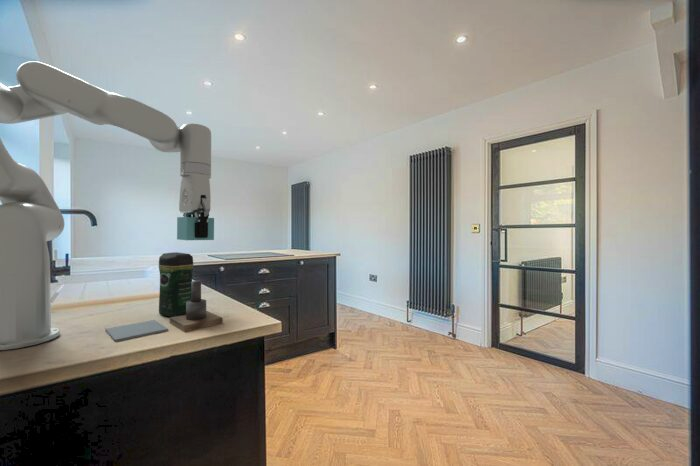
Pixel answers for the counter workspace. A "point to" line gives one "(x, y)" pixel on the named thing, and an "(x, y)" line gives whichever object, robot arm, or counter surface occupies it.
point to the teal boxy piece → (192, 229)
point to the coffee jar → (175, 283)
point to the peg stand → (195, 312)
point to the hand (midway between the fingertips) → (195, 236)
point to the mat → (135, 330)
